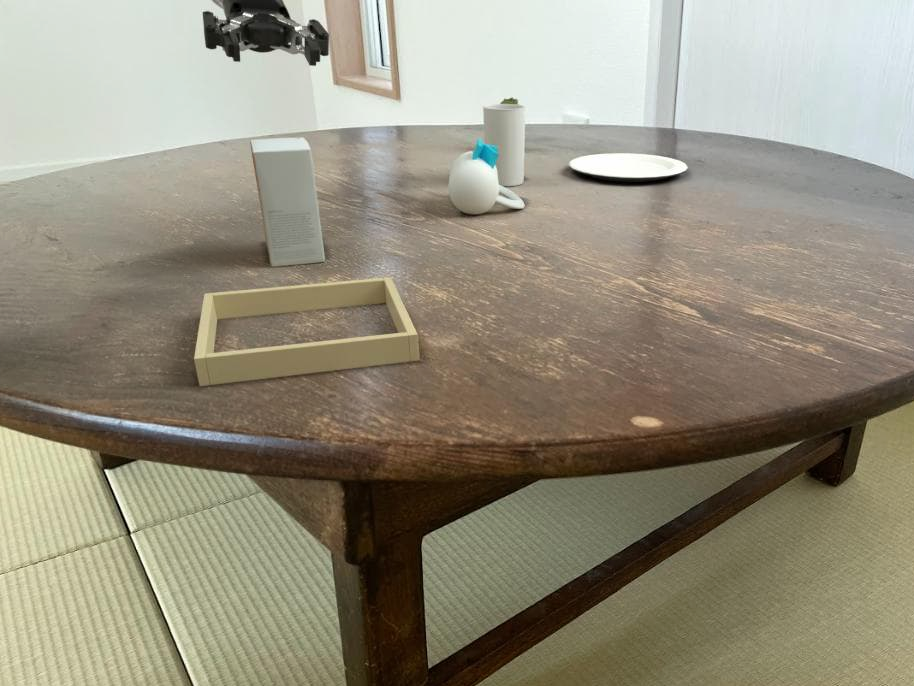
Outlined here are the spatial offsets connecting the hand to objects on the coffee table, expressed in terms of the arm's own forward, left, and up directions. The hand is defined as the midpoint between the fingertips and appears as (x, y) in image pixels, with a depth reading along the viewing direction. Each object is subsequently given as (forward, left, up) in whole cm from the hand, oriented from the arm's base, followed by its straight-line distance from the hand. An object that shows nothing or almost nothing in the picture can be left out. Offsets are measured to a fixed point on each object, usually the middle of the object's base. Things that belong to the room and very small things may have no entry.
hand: (275, 55), depth 92 cm
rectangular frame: (-1, -35, -22) cm, 41 cm away
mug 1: (+34, +27, -22) cm, 49 cm away
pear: (+43, +53, -22) cm, 72 cm away
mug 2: (+27, +9, -22) cm, 36 cm away
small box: (-1, -7, -22) cm, 23 cm away
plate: (+57, +27, -22) cm, 67 cm away
